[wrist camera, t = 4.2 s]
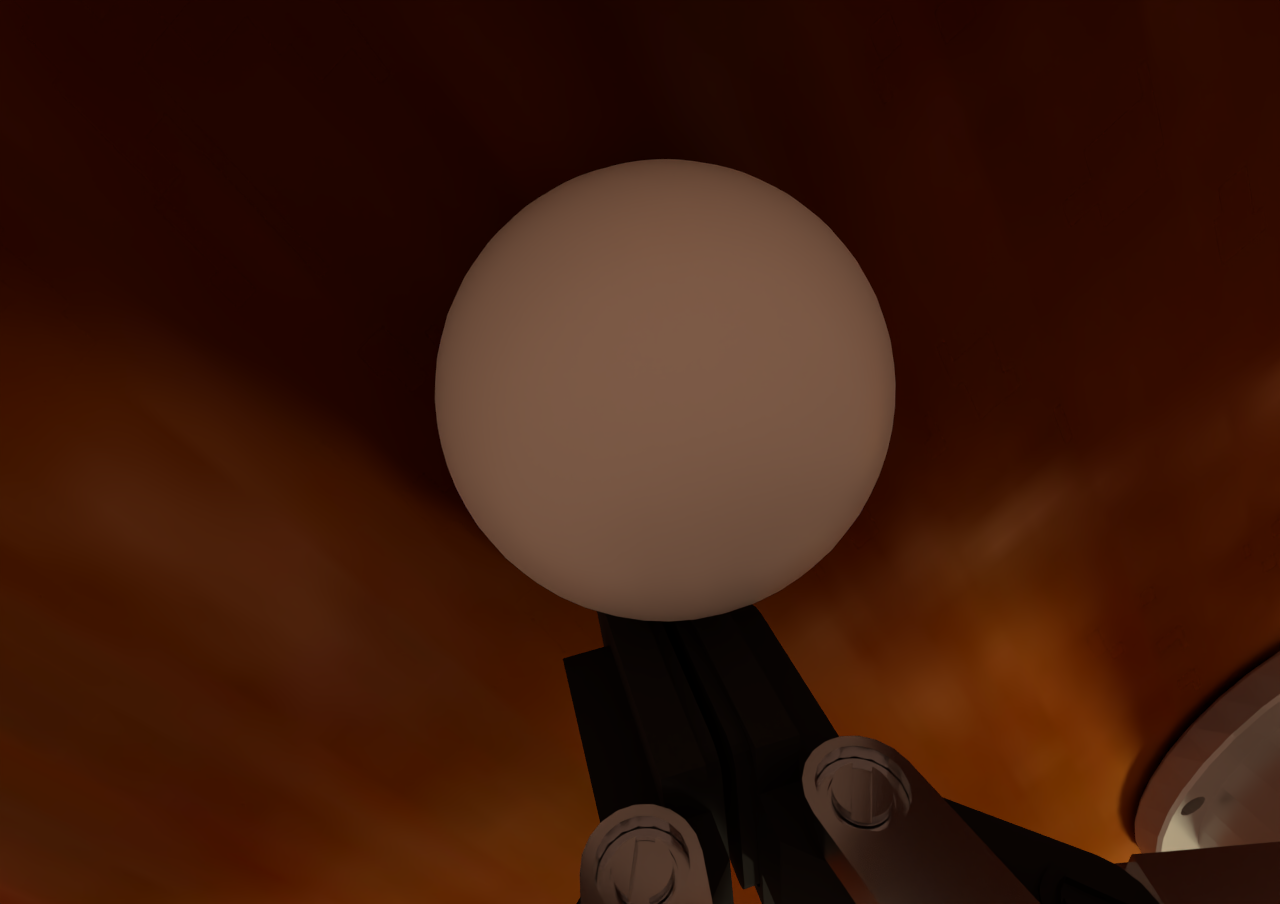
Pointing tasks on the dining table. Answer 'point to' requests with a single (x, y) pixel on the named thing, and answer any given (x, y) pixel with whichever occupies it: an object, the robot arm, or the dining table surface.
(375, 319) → the dining table surface
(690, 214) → the cue ball
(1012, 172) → the dining table surface
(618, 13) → the dining table surface
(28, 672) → the dining table surface
